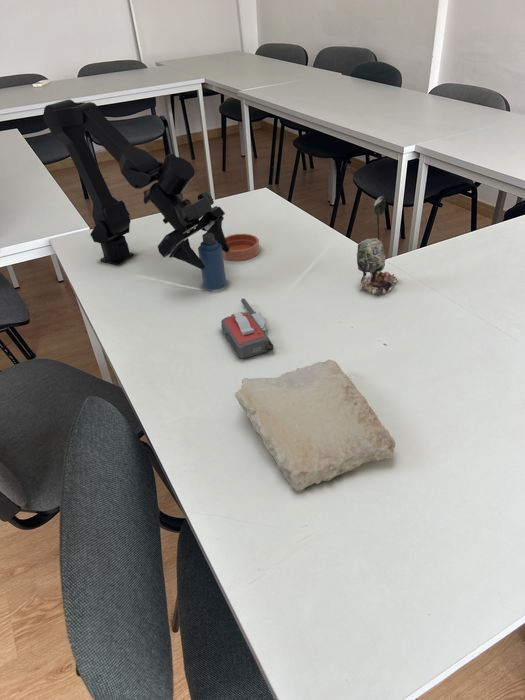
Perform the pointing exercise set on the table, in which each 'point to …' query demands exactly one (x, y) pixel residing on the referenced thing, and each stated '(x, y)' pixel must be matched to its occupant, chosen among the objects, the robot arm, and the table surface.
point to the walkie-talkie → (247, 332)
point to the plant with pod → (374, 260)
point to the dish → (241, 247)
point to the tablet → (314, 423)
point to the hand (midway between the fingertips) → (216, 259)
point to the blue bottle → (212, 263)
